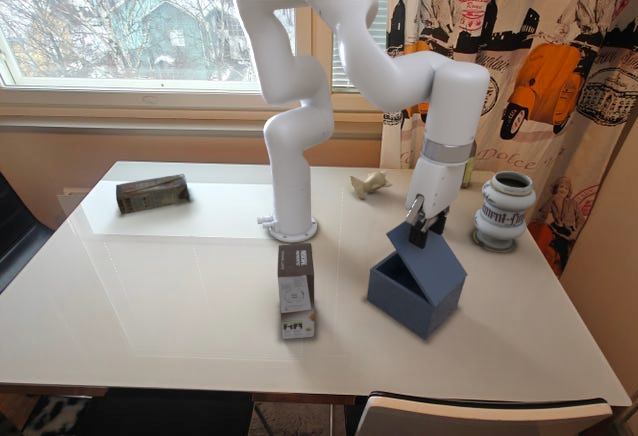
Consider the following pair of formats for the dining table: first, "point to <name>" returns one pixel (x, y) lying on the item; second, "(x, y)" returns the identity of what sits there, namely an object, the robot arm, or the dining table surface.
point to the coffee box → (296, 290)
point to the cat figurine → (369, 183)
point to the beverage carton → (152, 193)
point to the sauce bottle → (469, 166)
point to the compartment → (408, 297)
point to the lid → (429, 261)
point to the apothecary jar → (503, 210)
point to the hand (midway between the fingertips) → (425, 237)
